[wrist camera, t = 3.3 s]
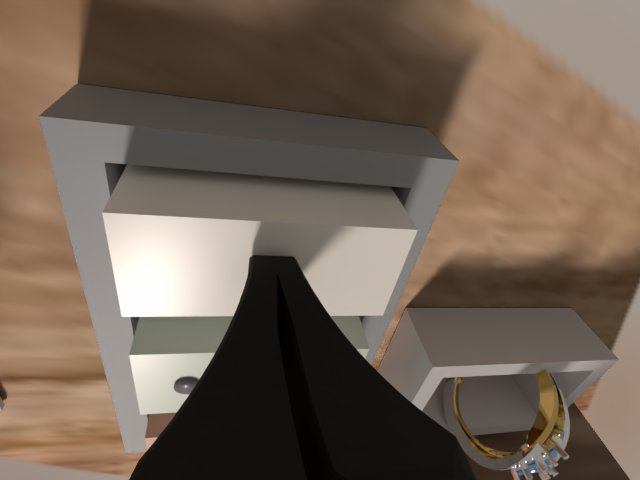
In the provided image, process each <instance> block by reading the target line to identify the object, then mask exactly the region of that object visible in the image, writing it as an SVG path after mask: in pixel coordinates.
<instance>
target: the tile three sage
mask: <svg viewBox="0 0 640 480" xmlns="http://www.w3.org/2000/svg"><path fill="white" fill-rule="evenodd" d="M232 318H233V316H182V317H139V320H138V324H137V328H136V331H135V335H134V339H133V342H132V346H131V350H130V353H129V358H130V363H131V368H132V373H133V379H134V384H135V389H136V395H137V400H138V405H139V411H140V415H143V414H159V413H175V412H177V411H178V410H179V408H180V407H181V406H182V404H183V403H184V401H185V400H186V399H187V397H188V396H189V394H190V393H191V391H192V390H193V389H194V387H195V385H196V384H197V382H198V381H199V379H200V378H201V376H202V374H203V373H204V371H205V369H206V368H207V366H208V364H209V363H210V361H211V360H212V358H213V356H214V354H215V352H216V351H217V349H218V347H219V345H220V343H221V341H222V339H223V337H224V335H225V333H226V331H227V329H228V327H229V325H230V323H231V320H232ZM331 318H332V319H333V321H334V322H335V323H336V325H337V326H338V327H339V329H340V330H341V331H342V332H343V334H344V335H345V336H346V337H347V339H348V340H349V341H350V342H351V343H352V345H353V346H354V347H355V348H356V349H357V350H358V351H359V353H360V354H361V355H362V356H363V357H364V358H366V356H367V353H368V351H369V346H368V343H367V340H366V337H365V333H364V330H363V327H362V324H361V321H360V318H359V316H331Z"/></svg>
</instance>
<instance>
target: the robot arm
mask: <svg viewBox="0 0 640 480" xmlns="http://www.w3.org/2000/svg"><path fill="white" fill-rule="evenodd" d="M3 407H4V402H3V401H2V399H1V397H0V412H1V411H2V409H3ZM129 480H477V479H476V476H475V474H474V472H473V470H472V467H471V465H470V463H469V461H468V458H467V456H466V454H465V452H464V451H463V449H462V447H461V445H460V444H459V442H458V440H457V438H456V436H455V435H453V434H452V433H451V432H449V431H448V430H447V429H445V428H444V427H442V426H441V425H440V424H438V423H437V422H436V421H434V420H433V419H432V418H430V417H429V416H428V415H426V414H425V413H424V412H422V411H421V410H420V409H419V408H417V407H416V406H415V405H414V404H413V403H411V402H410V401H409V400H408V399H407V398H406V397H404V396H403V395H402V394H401V393H400V392H399V391H398V390H396V389H395V388H394V387H393V386H392V385H391V384H390V383H389V382H388V381H387V380H386V379H385V378H384V377H383V376H382V375H381V374H380V373H378V372H377V371H376V370H375V369H374V368H373V367H372V366H371V364H370V363H369V362H368V361H367V360H366V359H365V358H364V357H363V356H362V355H361V354H360V353H359V351H358V350H357V349H356V348H355V347H354V346H353V345H352V343H351V342H350V341H349V340H348V339H347V337H346V336H345V335H344V334H343V332H342V331H341V330H340V329H339V327H338V326H337V325H336V323H335V322H334V321H333V319H332V318H331V316H330V315H329V314H328V312H327V311H326V309H325V308H324V306H323V305H322V303H321V302H320V300H319V299H318V297H317V296H316V294H315V292H314V291H313V289H312V288H311V286H310V284H309V282H308V281H307V279H306V277H305V275H304V274H303V272H302V270H301V268H300V266H299V264H298V262H297V260H296V259H295V258H294V256H268V255H253V256H251V257H250V258H249V267H248V276H247V280H246V283H245V287H244V290H243V293H242V295H241V298H240V301H239V304H238V307H237V309H236V311H235V314H234V316H233V318H232V320H231V323H230V325H229V327H228V329H227V331H226V333H225V335H224V337H223V339H222V341H221V343H220V345H219V347H218V349H217V351H216V352H215V354H214V356H213V358H212V360H211V361H210V363H209V364H208V366H207V368H206V369H205V371H204V373H203V374H202V376H201V378H200V379H199V381H198V382H197V384H196V385H195V387H194V389H193V390H192V391H191V393H190V394H189V396H188V397H187V399H186V400H185V401H184V403H183V404H182V406H181V407H180V408H179V410H178V411H177V413H176V414H175V416H174V417H173V418H172V420H171V421H170V422H169V424H168V425H167V426H166V428H165V429H164V430H163V431H162V433H161V434H160V435H159V436H158V438H157V439H156V440H155V441H154V443H153V444H152V445H151V446H150V448H149V449H148V450H147V451H146V453H145V454H144V455H143V456H142V458H141V459H140V460H139V462H138V463H137V465H136V467H135V469H134V471H133V473H132V475H131V477H130V479H129Z"/></svg>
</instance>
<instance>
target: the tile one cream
mask: <svg viewBox="0 0 640 480" xmlns="http://www.w3.org/2000/svg"><path fill="white" fill-rule="evenodd" d="M102 214H103V220H104V225H105V230H106V235H107V241H108V246H109V251H110V257H111V262H112V267H113V273H114V278H115V283H116V289H117V294H118V299H119V304H120V310H121V315H122V317H182V316H234V314H235V311H236V309H237V307H238V304H239V301H240V298H241V295H242V293H243V290H244V287H245V283H246V280H247V276H248V267H249V258H250V257H251V256H253V255H268V256H294V258H295V259H296V260H297V262H298V264H299V266H300V268H301V270H302V272H303V274H304V275H305V277H306V279H307V281H308V282H309V284H310V286H311V288H312V289H313V291H314V292H315V294H316V296H317V297H318V299H319V300H320V302H321V303H322V305H323V306H324V308H325V309H326V311H327V312H328V314H329V315H330V316H383V314H384V312H385V309H386V307H387V304H388V302H389V299H390V297H391V294H392V292H393V290H394V287H395V285H396V282H397V280H398V277H399V275H400V272H401V270H402V268H403V265H404V263H405V260H406V258H407V255H408V253H409V250H410V248H411V245H412V243H413V241H414V238H415V236H416V233H417V231H418V229H417V228H416V226H415V225H414V223H413V221H412V220H411V218H410V217H409V215H408V213H407V212H406V210H405V209H404V207H403V205H402V204H401V202H400V200H399V199H398V197H397V196H396V194H395V192H394V191H393V189H392V188H391V186H379V185H367V184H356V183H344V182H332V181H320V180H308V179H296V178H284V177H272V176H260V175H248V174H236V173H224V172H212V171H200V170H188V169H176V168H165V167H153V166H141V165H129V164H127V166H126V167H125V169H124V171H123V173H122V175H121V177H120V179H119V181H118V183H117V185H116V187H115V189H114V191H113V193H112V195H111V197H110V198H109V200H108V202H107V204H106V206H105V208H104V210H103V212H102Z"/></svg>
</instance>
